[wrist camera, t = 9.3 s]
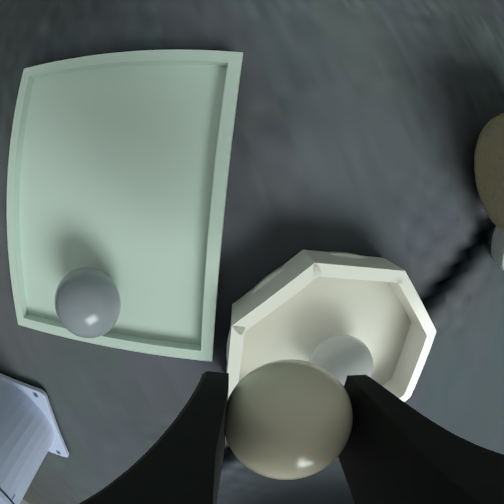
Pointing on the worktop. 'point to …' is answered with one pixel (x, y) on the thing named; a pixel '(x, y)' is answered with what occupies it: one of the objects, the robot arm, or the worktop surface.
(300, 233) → the worktop surface
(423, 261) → the worktop surface
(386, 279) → the stoneware bowl
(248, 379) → the beige round ball
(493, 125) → the ceramic mug
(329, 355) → the pebble grey
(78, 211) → the parts tray
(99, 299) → the pebble slate
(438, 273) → the worktop surface
